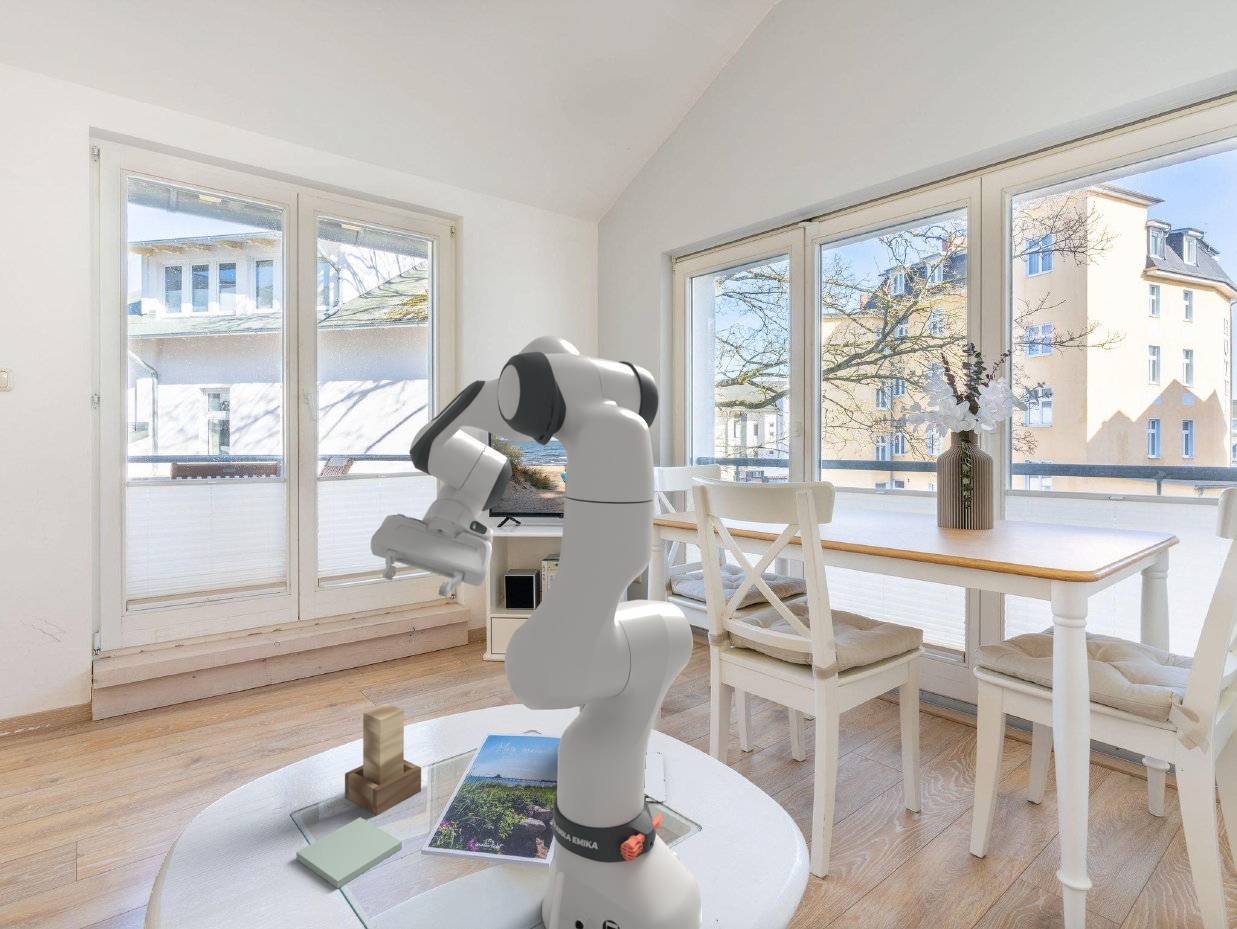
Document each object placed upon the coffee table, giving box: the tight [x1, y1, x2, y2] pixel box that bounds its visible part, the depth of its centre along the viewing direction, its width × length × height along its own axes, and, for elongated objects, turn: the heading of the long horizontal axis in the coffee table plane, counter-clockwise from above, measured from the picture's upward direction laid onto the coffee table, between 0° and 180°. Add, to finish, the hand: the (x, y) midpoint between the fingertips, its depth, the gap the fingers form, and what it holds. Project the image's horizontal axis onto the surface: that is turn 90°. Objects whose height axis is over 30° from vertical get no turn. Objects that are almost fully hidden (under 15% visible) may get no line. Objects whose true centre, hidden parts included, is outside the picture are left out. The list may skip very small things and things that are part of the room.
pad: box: [296, 816, 403, 889], centre depth 91 cm, size 10×10×1 cm
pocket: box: [344, 759, 422, 816], centre depth 106 cm, size 8×8×4 cm
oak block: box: [362, 703, 405, 786], centre depth 105 cm, size 4×4×14 cm
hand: (414, 585), depth 104 cm, fingers open, 8 cm apart
